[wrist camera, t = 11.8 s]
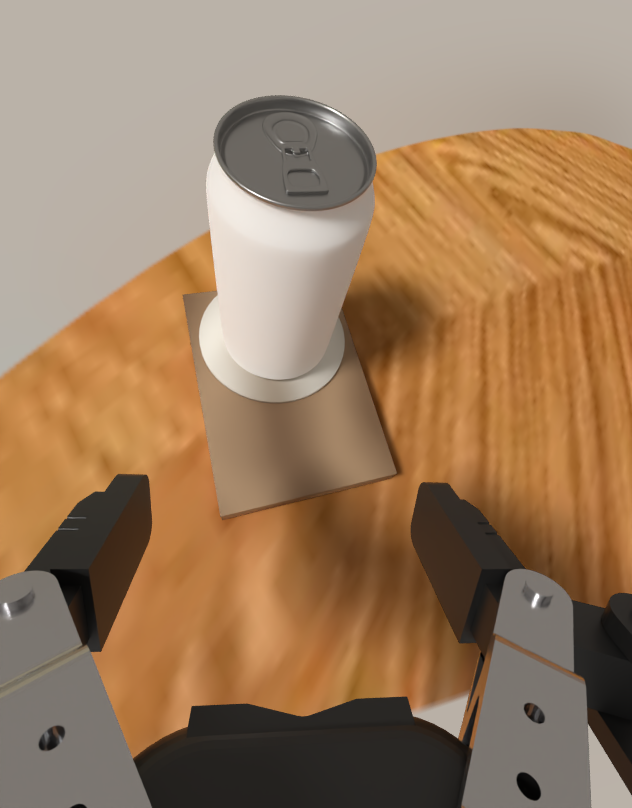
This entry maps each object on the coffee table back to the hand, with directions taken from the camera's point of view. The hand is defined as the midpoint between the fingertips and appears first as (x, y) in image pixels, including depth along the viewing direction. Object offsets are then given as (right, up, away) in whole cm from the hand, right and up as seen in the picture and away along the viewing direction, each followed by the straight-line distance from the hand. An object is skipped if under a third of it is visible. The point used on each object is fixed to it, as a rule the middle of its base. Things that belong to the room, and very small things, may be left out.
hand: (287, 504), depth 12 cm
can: (-2, +7, +13) cm, 15 cm away
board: (-1, +4, +13) cm, 14 cm away
